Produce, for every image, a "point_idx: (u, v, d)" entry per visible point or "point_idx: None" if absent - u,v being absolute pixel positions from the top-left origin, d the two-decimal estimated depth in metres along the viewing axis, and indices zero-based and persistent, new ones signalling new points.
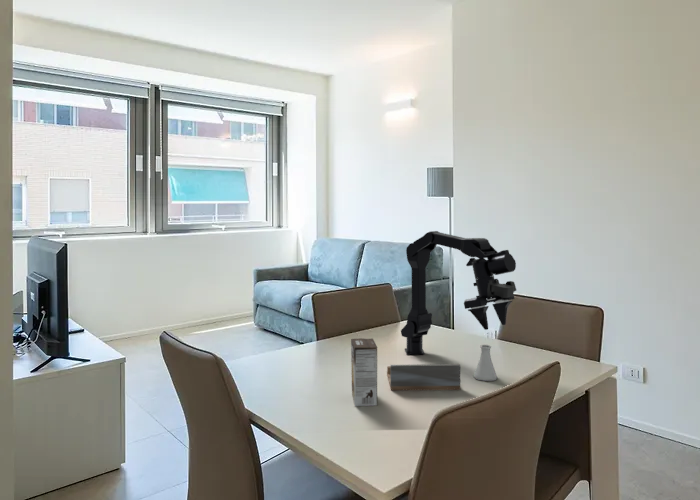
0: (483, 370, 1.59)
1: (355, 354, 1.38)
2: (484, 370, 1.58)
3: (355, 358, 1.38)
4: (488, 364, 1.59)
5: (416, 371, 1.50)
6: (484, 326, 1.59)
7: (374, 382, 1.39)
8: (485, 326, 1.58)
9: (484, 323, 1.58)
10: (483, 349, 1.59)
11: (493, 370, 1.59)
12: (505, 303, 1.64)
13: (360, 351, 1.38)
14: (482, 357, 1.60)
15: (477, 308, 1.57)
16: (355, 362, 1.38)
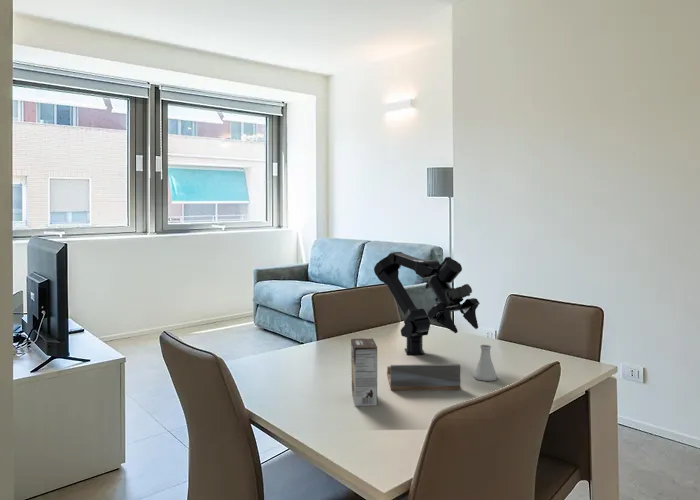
0: (483, 370, 1.59)
1: (355, 354, 1.38)
2: (484, 370, 1.58)
3: (355, 358, 1.38)
4: (488, 364, 1.59)
5: (416, 371, 1.50)
6: (453, 330, 1.64)
7: (374, 382, 1.39)
8: (454, 329, 1.64)
9: (452, 327, 1.64)
10: (483, 349, 1.59)
11: (493, 370, 1.59)
12: (471, 308, 1.71)
13: (360, 351, 1.38)
14: (482, 357, 1.60)
15: (439, 314, 1.65)
16: (355, 362, 1.38)
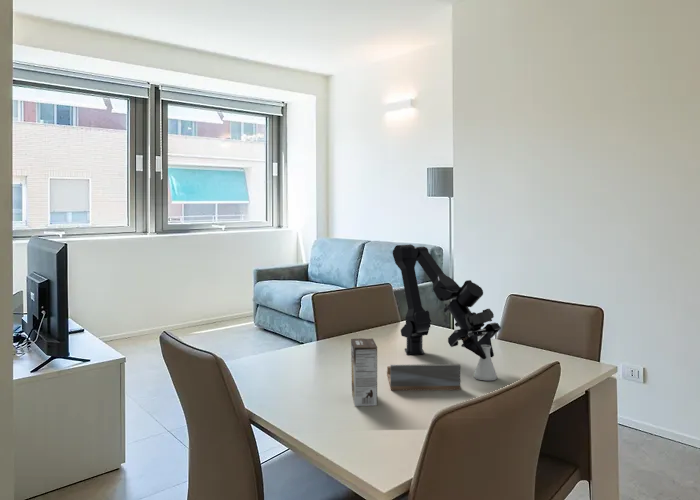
0: (483, 370, 1.59)
1: (355, 354, 1.38)
2: (484, 370, 1.58)
3: (355, 358, 1.38)
4: (488, 364, 1.59)
5: (416, 371, 1.50)
6: (482, 356, 1.59)
7: (374, 382, 1.39)
8: (482, 355, 1.58)
9: (480, 352, 1.59)
10: (483, 349, 1.59)
11: (493, 370, 1.59)
12: (486, 335, 1.63)
13: (360, 351, 1.38)
14: None
15: (467, 339, 1.59)
16: (355, 362, 1.38)
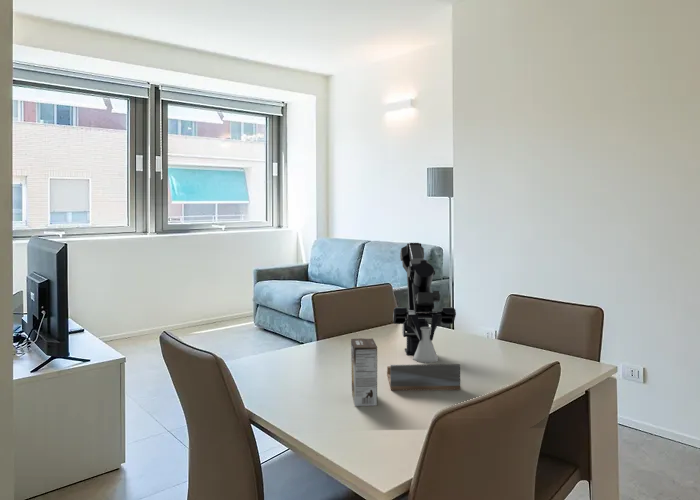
0: (419, 352, 1.56)
1: (355, 354, 1.38)
2: (419, 351, 1.56)
3: (355, 358, 1.38)
4: (424, 346, 1.55)
5: (416, 371, 1.50)
6: (418, 337, 1.56)
7: (374, 382, 1.39)
8: (418, 336, 1.56)
9: (417, 333, 1.56)
10: (421, 330, 1.56)
11: (429, 353, 1.54)
12: (432, 317, 1.58)
13: (360, 351, 1.38)
14: None
15: (407, 318, 1.59)
16: (355, 362, 1.38)
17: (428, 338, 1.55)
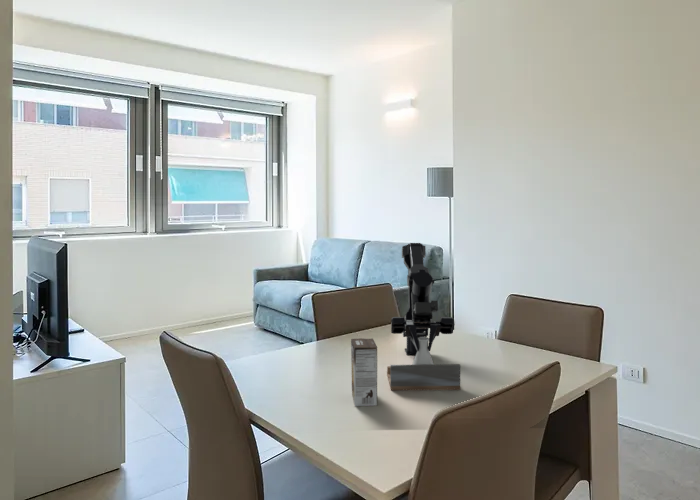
0: (416, 362, 1.54)
1: (355, 354, 1.38)
2: (416, 362, 1.54)
3: (355, 358, 1.38)
4: (421, 357, 1.53)
5: (416, 371, 1.50)
6: (416, 347, 1.54)
7: (374, 382, 1.39)
8: (416, 347, 1.53)
9: (415, 344, 1.54)
10: None
11: None
12: (430, 327, 1.55)
13: (360, 351, 1.38)
14: None
15: (405, 328, 1.57)
16: (355, 362, 1.38)
17: (425, 349, 1.53)
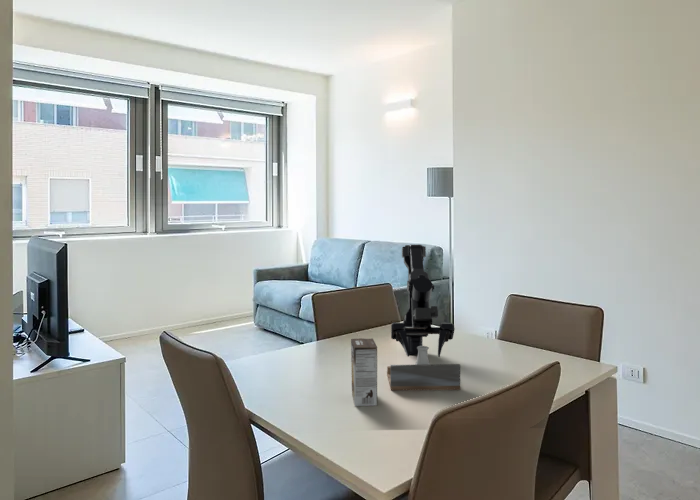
0: None
1: (355, 354, 1.38)
2: None
3: (355, 358, 1.38)
4: None
5: (416, 371, 1.50)
6: (406, 353, 1.54)
7: (374, 382, 1.39)
8: (406, 352, 1.54)
9: (405, 349, 1.54)
10: (418, 349, 1.55)
11: None
12: (439, 333, 1.55)
13: (360, 351, 1.38)
14: (417, 358, 1.55)
15: (396, 333, 1.57)
16: (355, 362, 1.38)
17: (425, 357, 1.54)
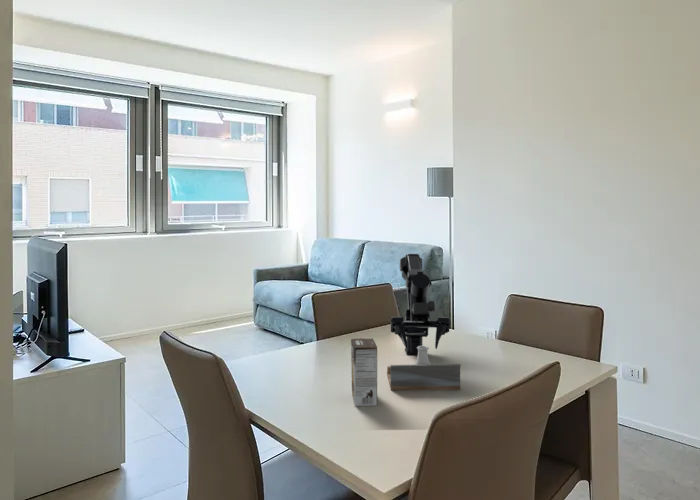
0: None
1: (355, 354, 1.38)
2: None
3: (355, 358, 1.38)
4: None
5: (416, 371, 1.50)
6: (404, 345, 1.63)
7: (374, 382, 1.39)
8: (404, 344, 1.63)
9: (403, 342, 1.63)
10: (418, 349, 1.55)
11: None
12: (437, 326, 1.64)
13: (360, 351, 1.38)
14: (417, 358, 1.55)
15: (395, 327, 1.66)
16: (355, 362, 1.38)
17: (425, 357, 1.54)
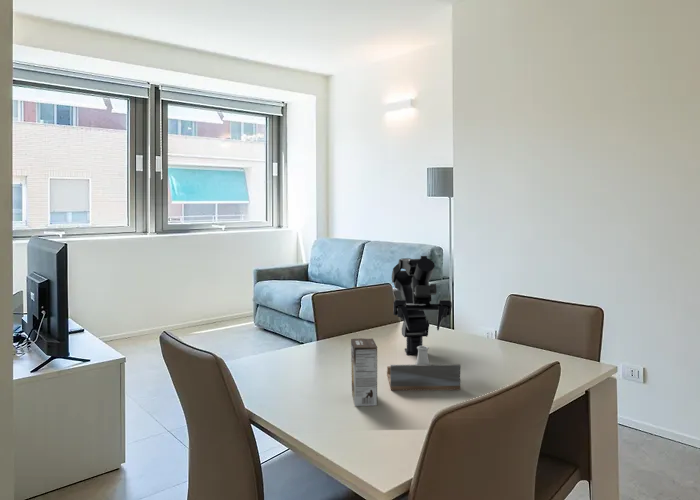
0: None
1: (355, 354, 1.38)
2: None
3: (355, 358, 1.38)
4: None
5: (416, 371, 1.50)
6: (407, 327, 1.67)
7: (374, 382, 1.39)
8: (407, 326, 1.67)
9: (406, 323, 1.67)
10: (418, 349, 1.55)
11: None
12: (438, 309, 1.69)
13: (360, 351, 1.38)
14: (417, 358, 1.55)
15: (397, 309, 1.70)
16: (355, 362, 1.38)
17: (425, 357, 1.54)
